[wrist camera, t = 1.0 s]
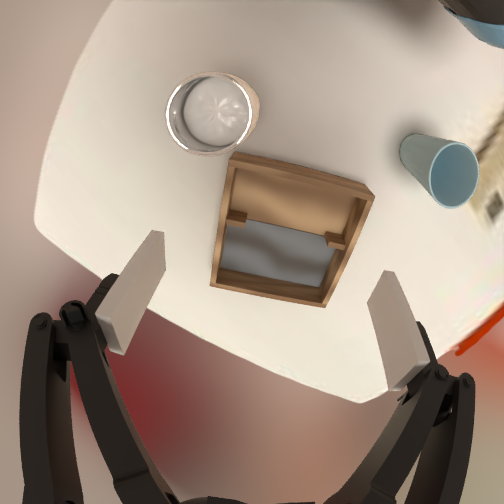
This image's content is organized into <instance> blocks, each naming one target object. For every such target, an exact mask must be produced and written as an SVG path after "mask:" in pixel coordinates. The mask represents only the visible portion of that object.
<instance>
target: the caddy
mask: <svg viewBox="0 0 504 504" xmlns="http://www.w3.org/2000/svg"><path fill="white" fill-rule="evenodd" d="M374 198H375V196H374V195H373V193H372V192H371V191H370V190H369V189H368V188H367V186H366V185H365V184H362V183H359V182H356V181H352V180H349V179H346V178H342V177H339V176H336V175H332V174H329V173H325V172H321V171H318V170H314V169H310V168H306V167H302V166H298V165H294V164H290V163H286V162H282V161H278V160H273V159H269V158H264V157H259V156H255V155H250V154H245V153H240V152H234V153H233V155H232V156H231V158H230V159H229V163H228V169H227V174H226V180H225V186H224V192H223V198H222V204H221V211H220V217H219V224H218V230H217V237H216V244H215V251H214V258H213V265H212V272H211V280H210V286H212V287H217V288H221V289H226V290H231V291H236V292H241V293H246V294H251V295H256V296H261V297H266V298H271V299H276V300H282V301H287V302H293V303H298V304H304V305H310V306H316V307H322V308H325V307H326V305H327V304H328V302H329V300H330V298H331V296H332V294H333V292H334V290H335V288H336V285H337V283H338V281H339V279H340V277H341V275H342V273H343V271H344V269H345V267H346V264H347V262H348V260H349V258H350V256H351V254H352V251H353V249H354V247H355V245H356V242H357V240H358V238H359V235H360V233H361V231H362V228H363V226H364V223H365V221H366V219H367V216H368V214H369V211H370V209H371V206H372V204H373V201H374Z"/></svg>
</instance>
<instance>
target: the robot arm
mask: <svg viewBox="0 0 504 504" xmlns="http://www.w3.org/2000/svg"><path fill="white" fill-rule="evenodd" d="M439 1H440V2H441V3H442V4H443V6H444V8H445V9H446V10H447V11H448V12H449V13H450V14H452V15H453V16H455V17H456V18H457V19H458V20H459V21H460V22H461V23H462V24H463V25H464V26H465V27H466V28H467V29H468V30H469V31H470V32H471V33H472V34H473V35H474V36H475V37H476V38H478V39H479V40H481V41H483V42H486V43H487V44H489V45H491V46H494V47H498V48H502V49H504V0H439ZM165 271H166V263H165V245H164V232H160V231H154V230H152V231H151V232H150V233H149V235H148V236H147V237H146V239H145V240H144V241H143V243H142V244H141V246H140V247H139V248H138V250H137V251H136V252H135V254H134V255H133V257H132V258H131V259H130V261H129V262H128V264H127V265H126V267H125V268H124V269H123V271H122V272H121V274H120V275H117V274H113V273H111V274H110V275H108V276H107V277H105V278H104V279H103V280H102V282H101V283H100V285H99V287H98V288H97V289H96V290H95V293H93V295H92V297H91V298H90V299H89V301H88V302H87V304H86V305H84V303H82V302H81V301H77V300H73V301H69V302H67V303H65V304H64V305H63V306H62V307H61V309H60V312H59V316H60V318H61V320H62V321H61V320H53V319H52V318H51V316H50V315H49V314H48V313H44V312H43V313H38V314H37V315H35V316H34V317H33V318H32V320H31V322H30V325H29V330H28V335H27V341H26V347H25V354H24V360H23V369H22V378H21V391H20V415H19V418H20V419H19V420H20V423H19V424H20V448H21V461H22V470H23V477H24V484H25V486H24V493H23V502H22V504H84V502H83V493H82V487H81V483H80V477H79V472H78V467H77V461H76V455H75V447H74V439H73V430H72V419H71V401H70V361H72V364H73V369H74V373H75V377H76V381H77V384H78V388H79V391H80V395H81V398H82V401H83V405H84V408H85V411H86V414H87V416H88V420H89V423H90V425H91V428H92V431H93V433H94V436H95V438H96V441H97V443H98V446H99V448H100V451H101V453H102V455H103V457H104V460H105V462H106V464H107V466H108V468H109V470H110V472H111V475H112V477H113V485H114V488H115V490H116V492H117V494H118V496H119V498H120V500H121V502H122V503H123V504H246V503H243V502H240V501H237V500H232V499H224V498H218V497H211V496H208V497H201V498H194V499H190V500H187V501H184V502H181V503H180V502H179V500H178V499H177V497H176V496H175V495H174V493H173V491H172V490H171V488H170V487H169V486H168V484H167V483H166V481H165V480H164V479H163V478H162V476H161V474H160V473H159V471H158V469H157V468H156V466H155V464H154V463H153V461H152V459H151V457H150V455H149V454H148V452H147V450H146V448H145V446H144V444H143V443H142V440H141V438H140V436H139V434H138V432H137V430H136V429H135V426H134V424H133V422H132V420H131V418H130V415H129V413H128V411H127V409H126V406H125V404H124V402H123V399H122V397H121V394H120V392H119V390H118V387H117V384H116V382H115V379H114V377H113V374H112V371H111V368H110V365H109V363H108V360H107V356H106V353H105V351H104V350H105V348H106V346H107V345H108V347H109V349H110V351H112V352H115V353H118V354H121V355H124V354H125V352H126V350H127V348H128V345H129V343H130V341H131V339H132V337H133V335H134V332H135V330H136V328H137V326H138V324H139V322H140V320H141V318H142V316H143V314H144V312H145V310H146V308H147V306H148V304H149V302H150V300H151V298H152V296H153V294H154V292H155V290H156V288H157V286H158V284H159V282H160V280H161V278H162V276H163V274H164V272H165ZM367 305H368V308H369V311H370V315H371V318H372V322H373V326H374V329H375V333H376V337H377V341H378V345H379V349H380V353H381V357H382V361H383V366H384V370H385V375H386V379H387V384H388V389H389V391H400V390H402V389H403V388H404V387H405V386H406V385H407V388H408V391H406V392H405V393H404V394H403V395H402V396H401V397H399V398H398V400H397V401H399V400H400V399H401V401H400V403H399V405H398V407H397V408H396V410H395V412H394V414H393V415H392V417H391V419H390V421H389V422H388V424H387V426H386V427H385V429H384V430H383V432H382V434H381V435H380V437H379V438H378V440H377V441H376V443H375V444H374V446H373V447H372V449H371V450H370V452H369V453H368V454H367V456H366V457H365V459H364V460H363V461H362V463H361V464H360V465H359V467H358V468H357V469H356V471H355V472H354V473H353V474H352V476H351V477H350V478H349V479H348V481H347V482H346V483H345V484H344V486H343V487H342V488H341V489H340V490H339V491H338V492H337V493H335V494H334V495H332V496H331V497H330V498H328V499H327V500H326V502H324V503H323V504H396V500H395V496H396V494H397V492H398V491H399V489H400V487H401V486H402V484H403V483H404V481H405V479H406V477H407V476H408V474H409V472H410V471H411V468H412V467H413V465H414V463H415V461H416V460H417V457H418V456H419V454H420V452H421V454H420V458H419V461H418V465H417V468H416V472H415V475H414V478H413V481H412V484H411V487H410V490H409V492H408V495H407V498H406V500H405V503H404V504H459V502H460V498H461V495H462V491H463V487H464V483H465V478H466V473H467V469H468V463H469V458H470V451H471V444H472V436H473V426H474V412H475V381H474V379H473V377H471V375H470V374H468V373H462V374H461V375H460V376H459V377H454V376H451V375H449V373H448V371H447V369H446V368H445V367H444V366H442V365H440V364H438V363H437V360H436V357H435V354H434V351H433V348H432V346H431V343H430V340H429V338H428V335H427V333H426V330H425V328H424V327H423V326H422V324H421V323H420V322H418V321H415V318H414V316H413V313H412V311H411V308H410V306H409V304H408V301H407V299H406V297H405V294H404V292H403V290H402V288H401V286H400V283H399V281H398V279H397V277H396V275H395V273H394V272H391V271H386V270H384V271H383V273H382V275H381V277H380V279H379V281H378V283H377V285H376V287H375V289H374V291H373V292H372V294H371V296H370V298H369V300H368V302H367ZM451 409H452V412H451ZM280 504H315V502H304V503H303V502H301V503H280Z"/></svg>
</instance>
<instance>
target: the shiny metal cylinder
mask: <svg viewBox="0 0 504 504" xmlns="http://www.w3.org/2000/svg"><path fill="white" fill-rule="evenodd" d="M259 109H260V102H259V98H258V96H257V94H256V93H255V91H254V90H253V89H252V88H251V87H250V86H249V85H248V84H247V83H246V82H245V81H243V80H242V79H240V78H238V77H236V76H234V75H230V74H226V73H217V72H203V73H198V74H195V75H192V76H190V77H188V78H186V79H185V80H183V81H182V82H181V83H180V84H179V85H178V86H177V87H176V88H175V89H174V90H173V92H172V93H171V95H170V97H169V99H168V101H167V105H166V110H165V121H166V126H167V129H168V131H169V134H170V135H171V137H172V139H173V140H174V141H175V142H176V143H177V144H178V145H179V146H180V147H181V148H182V149H184V150H186V151H187V152H189V153H192V154H195V155H199V156H217V155H221V154H224V153H226V152H229V151H230V150H232V149H234V148H235V147H236V146H238V145H239V144H240V143H241V142H243V141H244V140H245V139H246V138H247V137H248V136H249V135H250V133H251V132H252V131H253V129H254V127H255V125H256V123H257V120H258V116H259Z"/></svg>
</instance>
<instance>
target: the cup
mask: <svg viewBox="0 0 504 504" xmlns="http://www.w3.org/2000/svg"><path fill="white" fill-rule="evenodd" d="M400 158H401V161H402V163H403V165H404V166H405V167H406V168H407V169H408V170H409V172H410V173H411V174H412V175H413V176H414V177H415V178H416V179H417V180H418V181H419V182H420V183H421V185H422V186H423V187H424V188H425V189H426V190H427V191H428V193H429V194H430V195H431V196H432V197H433V198H434V200H435V201H436V202H437V203H438V204H439V205H441V206H443V207H445V208H450V209H451V208H457V207H460V206H462V205H463V204H465V203H466V202H467V201H468V200H469V199H470V198H471V197H472V195H473V194H474V192H475V190H476V187H477V184H478V180H479V165H478V161H477V158H476V156H475V154H474V152H473V151H472V150H471V149H470V148H469V147H468V146H467V145H465V144H463V143H460V142H456V141H451V140H446V139H441V138H436V137H431V136H426V135H420V134H412V135H410V136H408V137H406V138H405V139H404V141H403V142H402V144H401V147H400Z"/></svg>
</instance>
